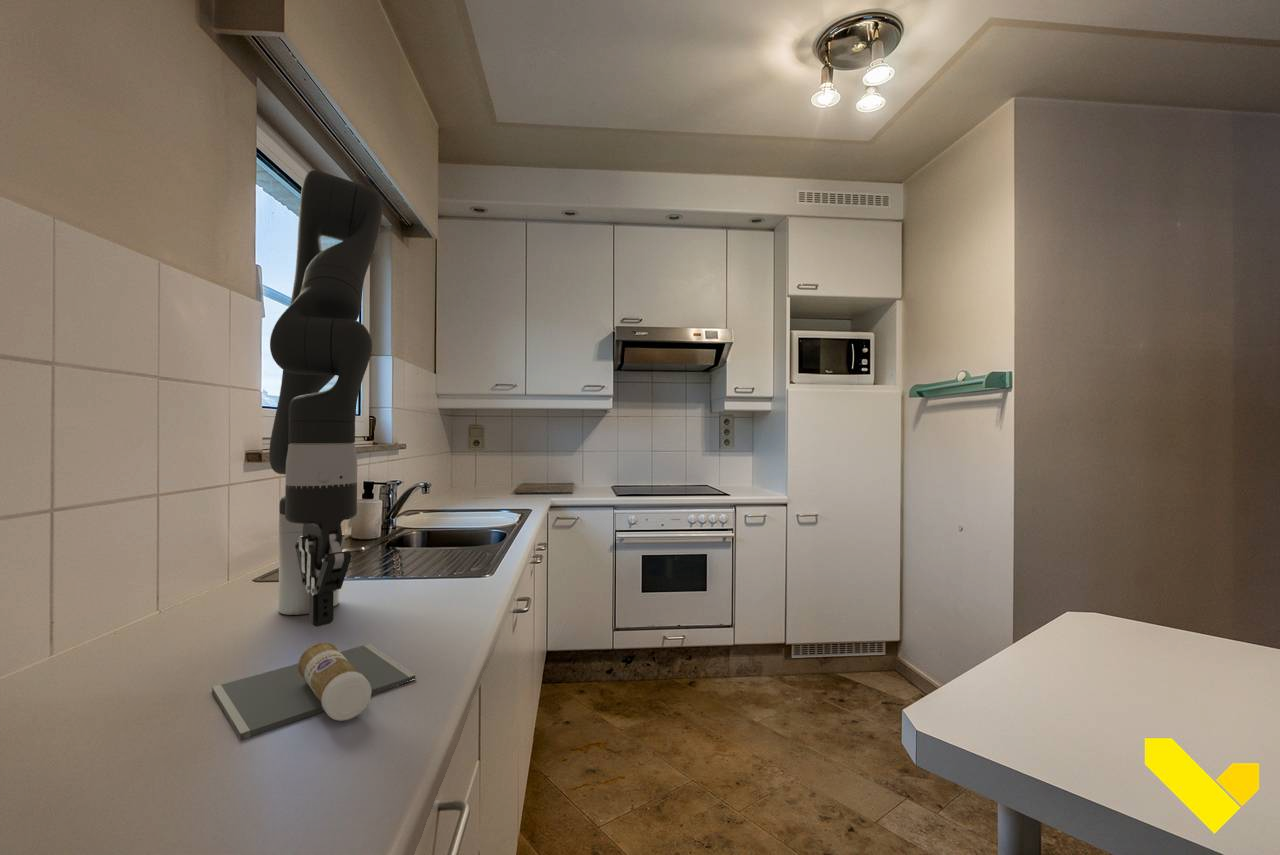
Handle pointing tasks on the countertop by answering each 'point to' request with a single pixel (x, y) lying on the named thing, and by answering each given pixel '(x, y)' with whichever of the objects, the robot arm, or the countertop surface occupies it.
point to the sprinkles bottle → (334, 681)
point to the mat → (296, 692)
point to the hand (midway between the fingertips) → (321, 623)
